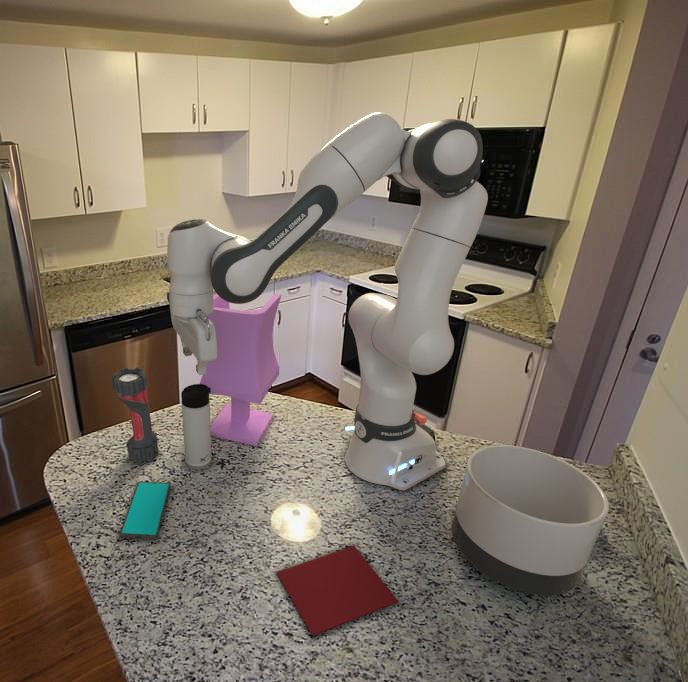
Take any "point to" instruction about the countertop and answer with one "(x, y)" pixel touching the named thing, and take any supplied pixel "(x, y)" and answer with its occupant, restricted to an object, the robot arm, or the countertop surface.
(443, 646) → the countertop surface
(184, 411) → the travel mug
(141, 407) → the flashlight
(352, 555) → the napkin
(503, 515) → the planter
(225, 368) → the vase
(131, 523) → the smartphone
